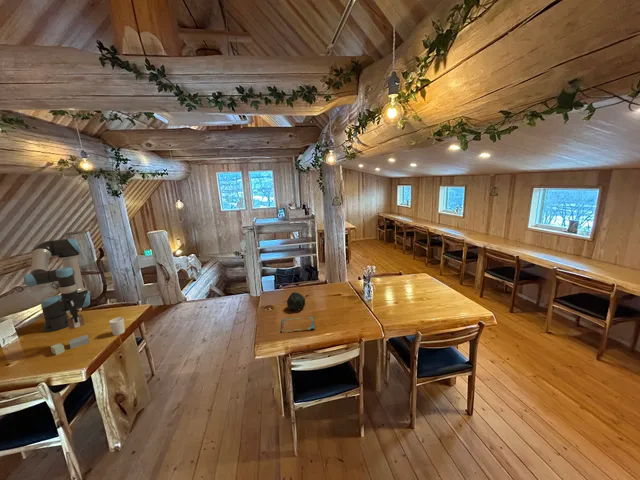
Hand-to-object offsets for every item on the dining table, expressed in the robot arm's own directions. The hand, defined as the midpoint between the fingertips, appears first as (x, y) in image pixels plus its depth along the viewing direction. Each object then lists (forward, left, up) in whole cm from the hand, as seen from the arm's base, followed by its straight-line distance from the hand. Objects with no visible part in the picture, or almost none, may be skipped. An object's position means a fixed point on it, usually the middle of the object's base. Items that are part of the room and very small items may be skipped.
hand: (76, 325), depth 166 cm
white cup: (+5, +19, -13) cm, 24 cm away
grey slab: (0, -1, -13) cm, 13 cm away
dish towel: (+99, +103, -14) cm, 144 cm away
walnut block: (0, 0, 0) cm, 0 cm away
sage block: (+2, -11, -13) cm, 17 cm away
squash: (+79, +121, -13) cm, 146 cm away
